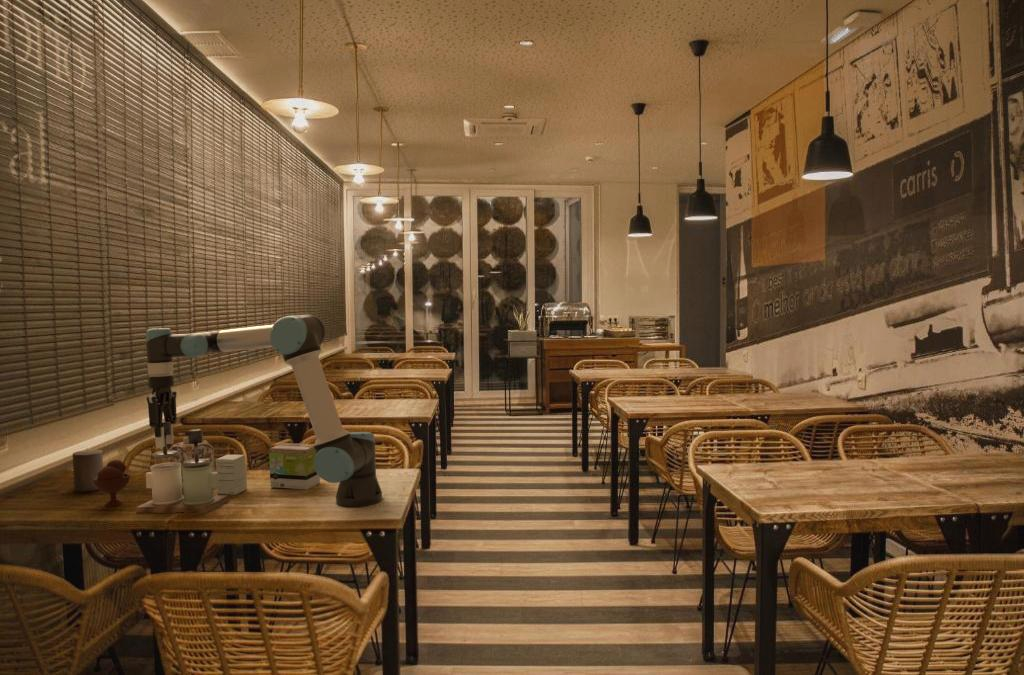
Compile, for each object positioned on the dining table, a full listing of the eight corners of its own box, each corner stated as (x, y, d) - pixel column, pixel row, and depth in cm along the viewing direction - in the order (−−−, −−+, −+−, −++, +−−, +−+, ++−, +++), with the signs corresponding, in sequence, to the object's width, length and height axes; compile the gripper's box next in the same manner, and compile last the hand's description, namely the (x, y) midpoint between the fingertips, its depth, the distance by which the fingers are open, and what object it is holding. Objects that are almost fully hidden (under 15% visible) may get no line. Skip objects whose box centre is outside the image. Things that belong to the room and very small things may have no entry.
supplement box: (229, 488, 264) (227, 454, 263) (247, 489, 263) (246, 454, 262) (217, 494, 257) (215, 458, 256) (235, 494, 255) (234, 459, 255)
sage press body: (177, 505, 238) (175, 468, 237) (193, 497, 247) (191, 462, 246) (210, 505, 236) (208, 468, 236) (225, 497, 246) (223, 462, 245)
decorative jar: (194, 479, 279) (192, 433, 278) (216, 482, 274) (214, 435, 272) (167, 487, 268) (164, 439, 267) (190, 490, 263) (187, 441, 262)
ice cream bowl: (106, 500, 253) (104, 457, 252) (138, 499, 252) (135, 456, 252) (88, 509, 242) (85, 464, 241) (121, 508, 242) (118, 464, 241)
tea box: (269, 488, 263) (267, 448, 262) (284, 481, 273) (282, 442, 272) (307, 490, 259) (305, 449, 258) (321, 482, 269) (319, 443, 268)
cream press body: (189, 497, 247) (187, 462, 247) (173, 505, 238) (171, 468, 237) (157, 496, 249) (155, 462, 248) (139, 505, 239) (137, 468, 238)
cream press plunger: (183, 452, 246) (181, 419, 245) (169, 458, 238) (167, 424, 237) (161, 452, 247) (159, 420, 246) (146, 458, 239) (144, 424, 238)
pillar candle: (72, 493, 263) (70, 452, 262) (76, 487, 272) (74, 447, 271) (103, 490, 267) (101, 449, 266) (105, 484, 276) (103, 444, 275)
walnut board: (228, 500, 248) (228, 495, 248) (206, 512, 234) (206, 507, 234) (162, 500, 251) (161, 495, 251) (136, 512, 237) (136, 507, 237)
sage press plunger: (178, 466, 238) (176, 432, 237) (192, 461, 246) (190, 428, 245) (201, 466, 237) (200, 432, 236) (214, 461, 245) (212, 427, 244)
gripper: (165, 372, 250) (168, 439, 251) (133, 378, 232) (137, 450, 234) (186, 372, 249) (189, 439, 250) (156, 378, 232) (160, 450, 233)
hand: (164, 444), depth 242 cm, fingers closed on cream press plunger, 4 cm apart
